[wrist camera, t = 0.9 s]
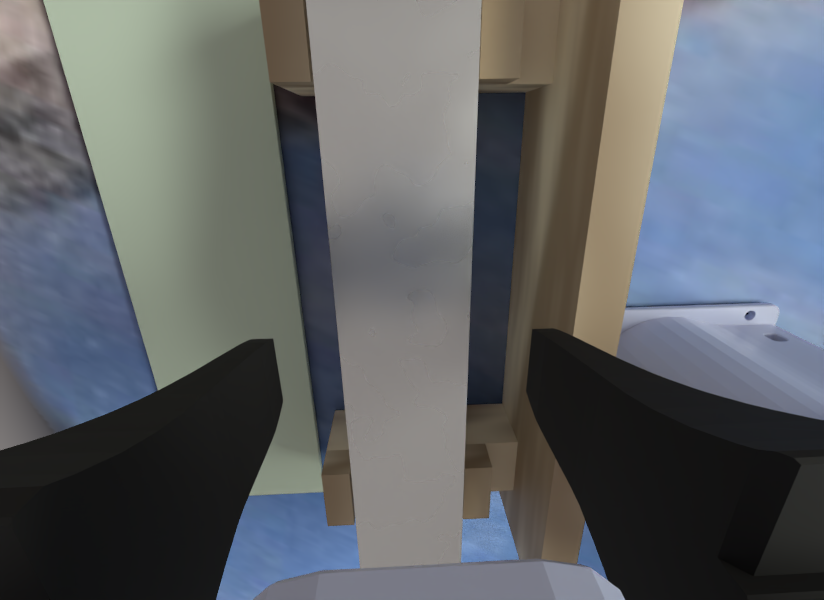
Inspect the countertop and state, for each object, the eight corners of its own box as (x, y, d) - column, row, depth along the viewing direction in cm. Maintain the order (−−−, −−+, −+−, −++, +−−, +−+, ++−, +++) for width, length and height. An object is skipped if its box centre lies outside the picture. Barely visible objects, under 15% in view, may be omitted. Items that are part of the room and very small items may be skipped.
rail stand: (580, -82, 14) (733, -260, 8) (521, 480, 24) (568, 606, 18) (282, -81, 14) (188, -266, 8) (343, 488, 24) (324, 620, 17)
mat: (253, -72, 14) (249, -78, 14) (324, 486, 24) (323, 491, 23) (30, -72, 14) (20, -77, 14) (192, 492, 23) (189, 498, 23)
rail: (458, -46, 12) (486, -125, 9) (448, 500, 20) (460, 581, 17) (324, -46, 12) (293, -125, 8) (367, 504, 20) (361, 587, 17)
